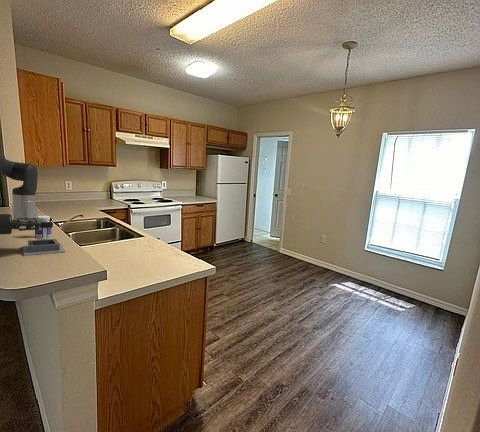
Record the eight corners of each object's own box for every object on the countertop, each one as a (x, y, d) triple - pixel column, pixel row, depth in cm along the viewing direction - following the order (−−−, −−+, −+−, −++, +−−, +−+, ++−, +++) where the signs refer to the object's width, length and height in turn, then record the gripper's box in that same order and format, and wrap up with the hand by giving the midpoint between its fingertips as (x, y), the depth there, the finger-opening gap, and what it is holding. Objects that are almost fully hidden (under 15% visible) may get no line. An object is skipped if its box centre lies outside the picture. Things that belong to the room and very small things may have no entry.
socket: (22, 246, 106) (21, 239, 105) (60, 244, 114) (60, 237, 114) (23, 255, 96) (23, 248, 96) (65, 252, 105) (65, 245, 105)
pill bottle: (49, 236, 108) (49, 215, 107) (53, 239, 105) (53, 217, 104) (33, 237, 104) (33, 215, 103) (36, 240, 101) (37, 217, 100)
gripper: (-7, 217, 88) (54, 217, 100) (-6, 211, 99) (49, 211, 110) (-7, 238, 89) (53, 236, 101) (-6, 230, 100) (49, 228, 111)
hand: (51, 223), depth 105 cm, fingers closed on pill bottle, 5 cm apart
